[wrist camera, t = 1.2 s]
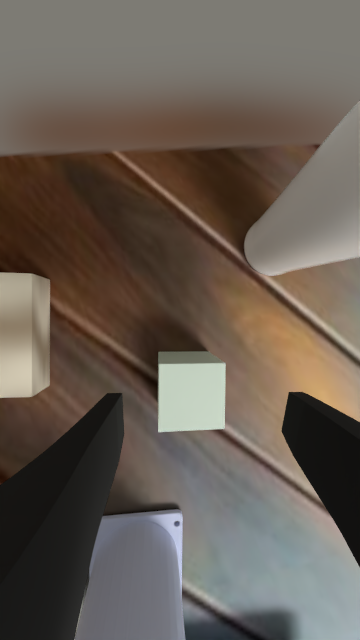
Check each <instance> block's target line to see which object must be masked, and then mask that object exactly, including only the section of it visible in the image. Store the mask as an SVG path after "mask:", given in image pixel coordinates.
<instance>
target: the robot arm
mask: <svg viewBox="0 0 360 640" xmlns="http://www.w3.org/2000/svg"><path fill="white" fill-rule="evenodd" d="M282 433H283V435H284V437H285V440H286V442H287V444H288V446H289V448H290V450H291V452H292V454H293V456H294V458H295V459H296V461H297V463H298V464H299V466H300V467H301V469H302V471H303V472H304V474H305V475H306V477H307V479H308V480H309V482H310V483H311V485H312V486H313V488H314V490H315V491H316V493H317V494H318V496H319V498H320V499H321V501H322V502H323V504H324V505H325V507H326V509H327V510H328V512H329V513H330V515H331V517H332V518H333V520H334V521H335V523H336V525H337V527H338V528H339V530H340V532H341V533H342V535H343V537H344V539H345V541H346V542H347V544H348V546H349V548H350V550H351V552H352V554H353V556H354V557H355V559H356V561H357V563H358V565H359V567H360V422H358V421H356V420H355V419H353V418H351V417H349V416H347V415H345V414H344V413H342V412H340V411H338V410H336V409H334V408H333V407H331V406H329V405H327V404H325V403H323V402H322V401H320V400H318V399H316V398H314V397H312V396H310V395H308V394H306V393H303V392H289V395H288V400H287V405H286V410H285V415H284V421H283V426H282ZM123 437H124V421H123V401H122V393H107V394H106V395H105V396H104V397H103V398H102V399H101V400H100V401H99V402H98V403H97V404H96V405H95V406H94V407H93V408H92V409H91V410H90V411H89V412H88V413H87V414H86V415H85V416H84V417H83V418H81V419H80V420H79V421H78V422H77V423H76V424H75V425H74V426H73V427H72V428H71V429H70V430H69V431H68V432H66V433H65V434H64V435H63V436H62V437H61V438H60V439H58V440H57V441H56V442H55V443H54V444H53V445H52V446H50V447H49V448H48V449H47V450H46V451H45V452H43V453H42V454H41V455H40V456H38V457H37V458H36V459H35V460H33V461H32V462H31V463H29V464H28V465H27V466H25V467H24V468H23V469H21V470H20V471H19V472H18V473H16V474H15V475H14V476H12V477H11V478H9V479H8V480H7V481H5V482H4V483H3V484H1V485H0V640H74V637H75V640H185V630H184V619H183V608H182V512H181V510H179V509H174V510H163V511H152V512H142V513H131V514H120V515H109V516H103V513H104V510H105V506H106V503H107V500H108V496H109V493H110V489H111V486H112V483H113V479H114V476H115V473H116V469H117V466H118V462H119V458H120V453H121V448H122V443H123ZM175 521H178V522H175ZM88 571H89V584H88V588H87V592H86V596H85V600H84V604H83V608H82V612H81V616H80V620H79V624H78V628H77V632H76V627H77V623H78V618H79V613H80V608H81V604H82V599H83V594H84V590H85V585H86V581H87V576H88ZM75 632H76V636H75Z"/></svg>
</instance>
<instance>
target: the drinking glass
mask: <svg viewBox="0 0 360 640" xmlns="http://www.w3.org/2000/svg"><path fill="white" fill-rule="evenodd" d="M244 252H245V256H246V259H247V261H248V263H249V264H250V265H251V267H252V268H253V269H255V270H256V271H257V272H259V273H261V274H264V275H268V276H276V275H281V274H284V273H287V272H290V271H295V270H299V269H304V268H309V267H314V266H319V265H324V264H329V263H334V262H339V261H344V260H349V259H354V258H359V257H360V100H359V102H358V103H357V104H356V105H355V106H354V107H353V108H352V109H351V110H350V112H349V113H348V114H347V115H346V116H345V117H344V119H343V120H342V121H341V122H340V123H339V124H338V125H337V127H336V128H335V129H334V130H333V131H332V132H331V134H330V135H329V136H328V137H327V138H326V140H325V141H324V142H323V143H322V144H321V146H320V147H319V148H318V149H317V150H316V152H315V153H314V154H313V155H312V156H311V158H310V159H309V160H308V161H307V163H306V164H305V165H304V166H303V167H302V169H301V170H300V171H299V172H298V173H297V175H296V176H295V177H294V178H293V179H292V181H291V182H290V183H289V184H288V185H287V187H286V188H285V189H284V190H283V191H282V193H281V194H280V195H279V196H278V197H277V199H276V200H275V201H274V202H273V203H272V205H271V206H270V207H269V208H268V209H267V211H266V212H265V213H264V214H263V215H262V216H261V217H260V218H259V219H258V220H257V221H256V222H255V223H254V224H253V225H252V226H251V228H250V229H249V231H248V232H247V234H246V237H245V241H244Z"/></svg>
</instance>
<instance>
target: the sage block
mask: <svg viewBox="0 0 360 640" xmlns="http://www.w3.org/2000/svg"><path fill="white" fill-rule="evenodd" d="M225 367H226V363H225V362H223V361H222V360H220V359H219V358H217V357H216V356H214V355H213V354H211V353H210V352H208V351H190V352H158V432H170V431H190V430H210V429H225Z"/></svg>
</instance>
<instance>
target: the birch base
mask: <svg viewBox="0 0 360 640" xmlns="http://www.w3.org/2000/svg"><path fill="white" fill-rule="evenodd" d="M49 385H50V280H49V279H46V278H44V277H41V276H38V275H35V274H30V273H0V398H8V397H32V396H34V395H35V394H37V393H39V392H40V391H42V390H43V389H45V388H46V387H48V386H49Z"/></svg>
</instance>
